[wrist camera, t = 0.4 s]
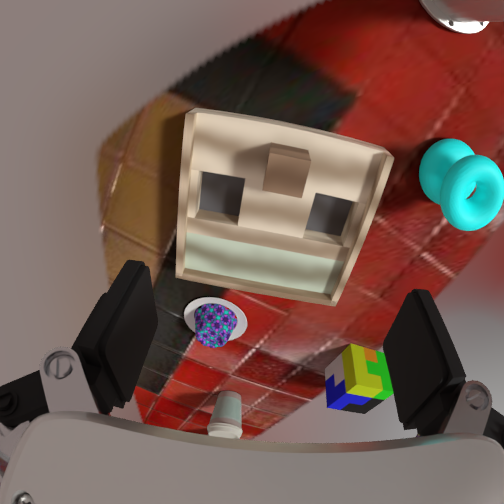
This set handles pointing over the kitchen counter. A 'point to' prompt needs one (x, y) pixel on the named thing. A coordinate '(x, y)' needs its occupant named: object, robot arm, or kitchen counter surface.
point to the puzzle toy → (357, 380)
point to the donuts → (462, 184)
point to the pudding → (214, 321)
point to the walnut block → (286, 170)
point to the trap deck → (273, 207)
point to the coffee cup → (226, 416)
